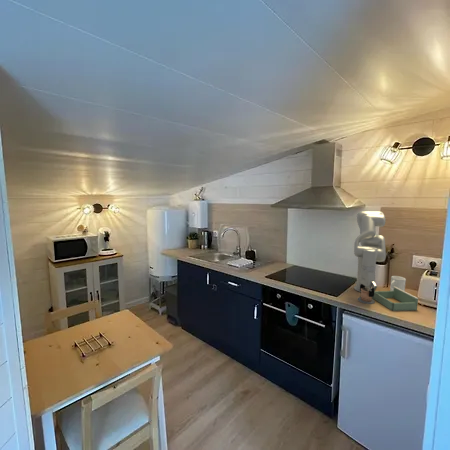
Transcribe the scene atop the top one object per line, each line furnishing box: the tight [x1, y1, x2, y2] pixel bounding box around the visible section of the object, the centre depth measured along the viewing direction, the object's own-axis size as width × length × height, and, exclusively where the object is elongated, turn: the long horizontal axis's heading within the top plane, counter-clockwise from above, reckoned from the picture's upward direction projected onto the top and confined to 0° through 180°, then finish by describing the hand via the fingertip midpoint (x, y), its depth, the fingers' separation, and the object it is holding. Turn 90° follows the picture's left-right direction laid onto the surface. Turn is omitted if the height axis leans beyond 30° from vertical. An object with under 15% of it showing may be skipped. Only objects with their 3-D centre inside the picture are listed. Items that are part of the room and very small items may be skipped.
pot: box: [360, 288, 373, 302], centre depth 171 cm, size 7×7×7 cm
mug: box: [389, 275, 407, 292], centre depth 186 cm, size 9×12×11 cm
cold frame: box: [372, 287, 419, 312], centre depth 168 cm, size 20×16×8 cm
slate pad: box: [357, 296, 376, 305], centre depth 172 cm, size 10×10×1 cm
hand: (366, 293), depth 171 cm, fingers open, 9 cm apart
